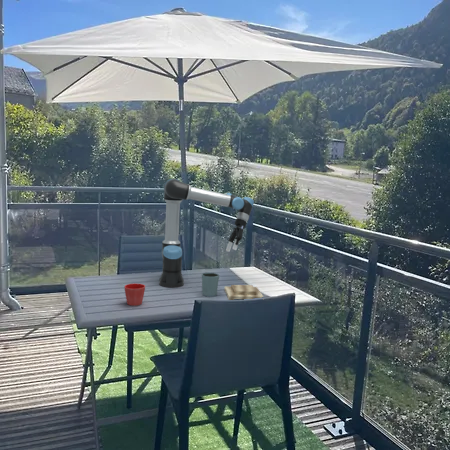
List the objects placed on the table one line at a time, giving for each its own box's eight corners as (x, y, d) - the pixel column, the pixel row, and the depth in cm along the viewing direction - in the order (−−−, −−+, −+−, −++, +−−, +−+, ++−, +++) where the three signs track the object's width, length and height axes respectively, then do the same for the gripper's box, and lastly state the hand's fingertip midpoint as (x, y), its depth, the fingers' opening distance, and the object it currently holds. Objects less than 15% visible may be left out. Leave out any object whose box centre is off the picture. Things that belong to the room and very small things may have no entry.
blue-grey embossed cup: (199, 296, 259) (200, 275, 257) (202, 291, 269) (203, 271, 267) (216, 297, 257) (217, 277, 256) (219, 292, 267) (220, 273, 265)
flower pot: (121, 301, 242) (122, 284, 240) (141, 299, 247) (141, 282, 246) (127, 307, 233) (127, 289, 231) (147, 305, 238) (147, 287, 236)
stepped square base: (228, 299, 254) (229, 292, 254) (224, 289, 274) (224, 283, 274) (263, 300, 257) (263, 293, 257) (256, 290, 277) (256, 283, 276)
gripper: (253, 219, 281) (242, 251, 276) (240, 225, 305) (230, 254, 300) (242, 215, 280) (231, 246, 275) (230, 220, 303) (220, 249, 298)
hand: (230, 250), depth 287 cm, fingers open, 13 cm apart
